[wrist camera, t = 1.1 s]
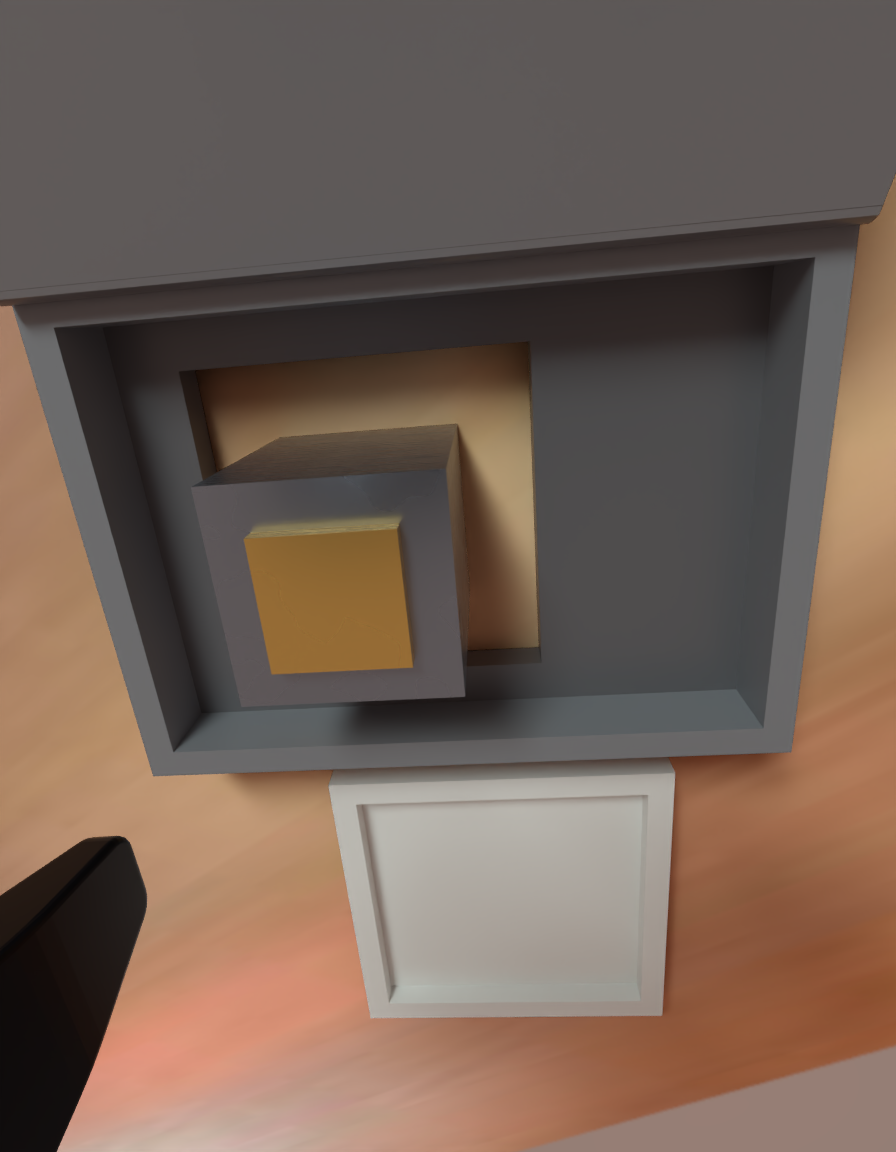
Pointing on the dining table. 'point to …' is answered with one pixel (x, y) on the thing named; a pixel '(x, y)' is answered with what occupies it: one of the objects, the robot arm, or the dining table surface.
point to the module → (342, 566)
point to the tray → (509, 886)
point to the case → (460, 324)
